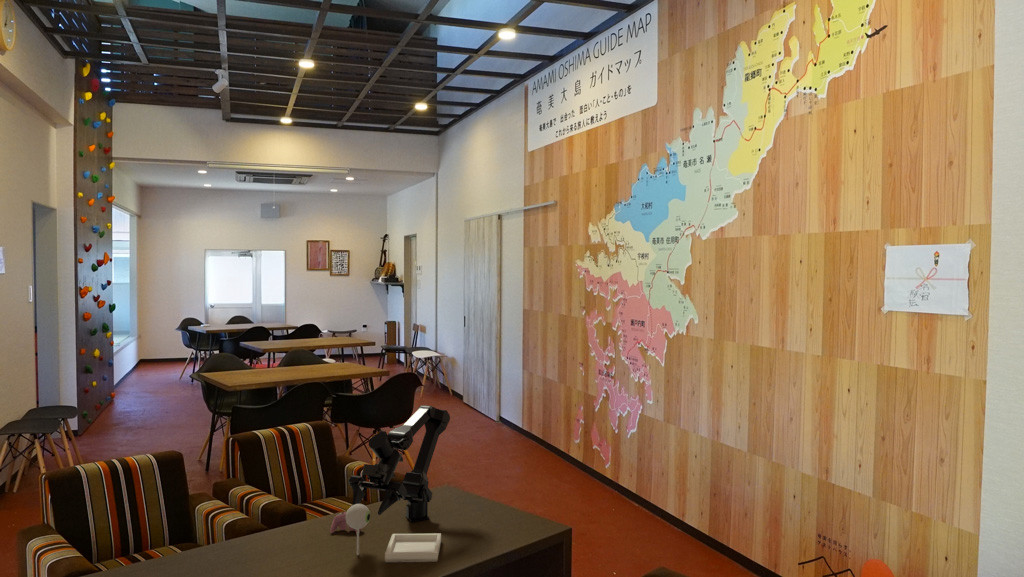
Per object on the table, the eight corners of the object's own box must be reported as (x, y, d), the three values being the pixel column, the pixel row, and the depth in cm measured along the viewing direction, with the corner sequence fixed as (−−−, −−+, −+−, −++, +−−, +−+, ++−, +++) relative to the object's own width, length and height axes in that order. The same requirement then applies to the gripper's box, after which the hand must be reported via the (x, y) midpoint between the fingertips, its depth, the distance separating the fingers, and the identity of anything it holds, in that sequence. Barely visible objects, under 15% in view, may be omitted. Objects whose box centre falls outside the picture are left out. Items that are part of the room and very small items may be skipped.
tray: (392, 541, 208) (392, 533, 208) (440, 541, 208) (440, 533, 208) (384, 562, 193) (384, 553, 193) (437, 561, 193) (437, 553, 193)
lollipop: (364, 560, 194) (364, 509, 193) (341, 558, 195) (341, 507, 195) (373, 551, 200) (374, 501, 200) (351, 549, 202) (351, 499, 202)
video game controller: (362, 535, 217) (365, 513, 220) (358, 534, 212) (361, 511, 216) (333, 534, 218) (336, 512, 221) (328, 533, 213) (332, 510, 217)
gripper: (351, 449, 210) (328, 494, 200) (402, 455, 202) (381, 503, 192) (366, 468, 217) (344, 512, 207) (415, 475, 210) (396, 521, 200)
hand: (365, 512), depth 201 cm, fingers open, 9 cm apart
